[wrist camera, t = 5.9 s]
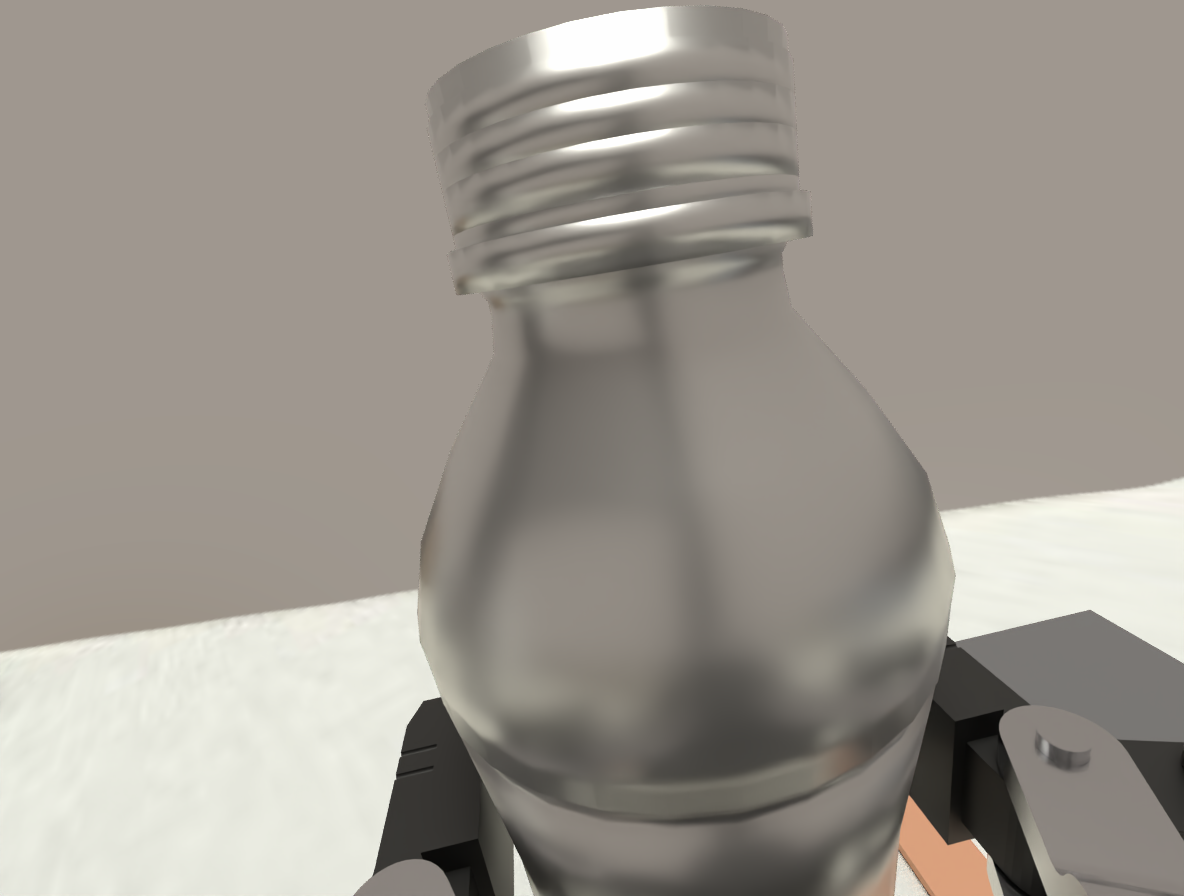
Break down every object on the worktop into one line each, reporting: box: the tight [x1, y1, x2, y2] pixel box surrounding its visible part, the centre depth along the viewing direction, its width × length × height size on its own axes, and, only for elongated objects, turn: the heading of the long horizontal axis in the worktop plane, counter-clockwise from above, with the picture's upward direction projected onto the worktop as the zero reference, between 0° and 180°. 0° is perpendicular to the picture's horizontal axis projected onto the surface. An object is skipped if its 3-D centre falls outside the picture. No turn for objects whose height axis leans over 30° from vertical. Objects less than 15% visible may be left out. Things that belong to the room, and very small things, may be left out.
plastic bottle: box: [417, 5, 956, 896], centre depth 9 cm, size 6×7×20 cm
